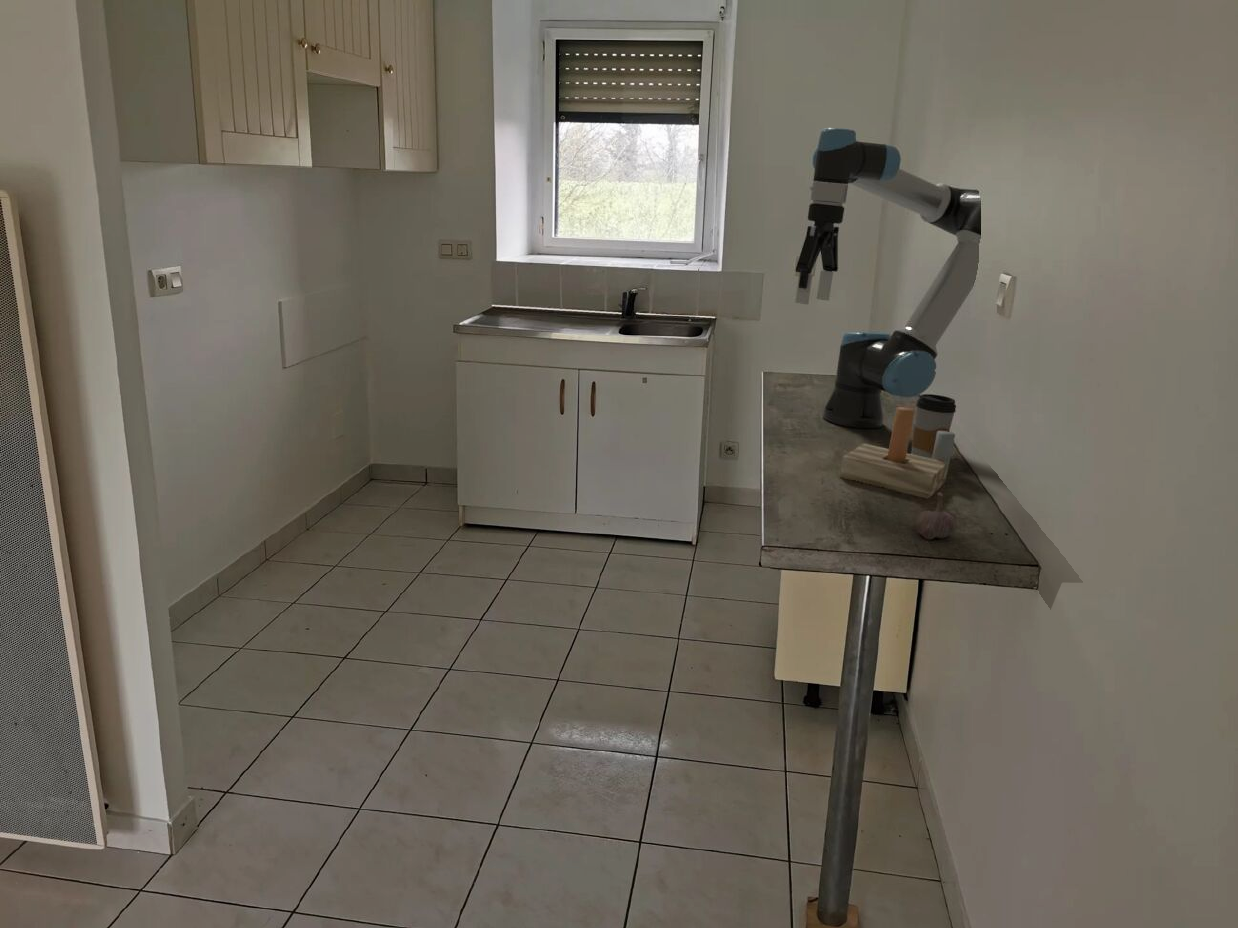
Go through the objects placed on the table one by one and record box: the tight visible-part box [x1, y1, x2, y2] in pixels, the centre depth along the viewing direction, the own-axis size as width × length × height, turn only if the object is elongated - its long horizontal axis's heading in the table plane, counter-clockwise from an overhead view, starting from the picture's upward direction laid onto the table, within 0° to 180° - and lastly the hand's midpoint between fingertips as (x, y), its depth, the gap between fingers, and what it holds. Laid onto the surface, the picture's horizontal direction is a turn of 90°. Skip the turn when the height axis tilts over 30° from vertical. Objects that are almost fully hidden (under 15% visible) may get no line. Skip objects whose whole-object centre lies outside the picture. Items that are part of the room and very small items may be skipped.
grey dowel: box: [932, 431, 956, 482], centre depth 201 cm, size 4×4×10 cm
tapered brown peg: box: [887, 406, 916, 464], centre depth 196 cm, size 4×4×14 cm
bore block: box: [839, 443, 950, 500], centre depth 197 cm, size 14×18×4 cm
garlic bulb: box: [914, 491, 958, 540], centre depth 166 cm, size 8×7×8 cm
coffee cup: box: [910, 393, 957, 459], centre depth 211 cm, size 8×8×15 cm
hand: (812, 301), depth 214 cm, fingers open, 13 cm apart
